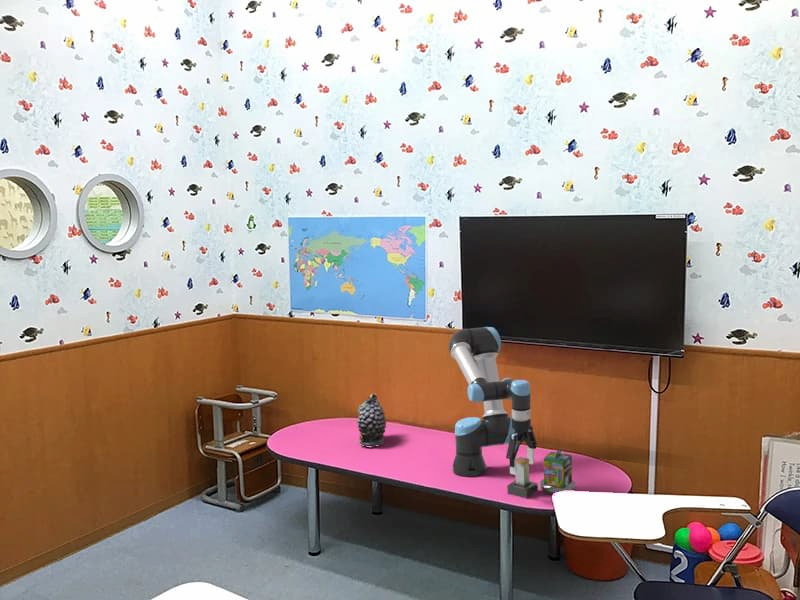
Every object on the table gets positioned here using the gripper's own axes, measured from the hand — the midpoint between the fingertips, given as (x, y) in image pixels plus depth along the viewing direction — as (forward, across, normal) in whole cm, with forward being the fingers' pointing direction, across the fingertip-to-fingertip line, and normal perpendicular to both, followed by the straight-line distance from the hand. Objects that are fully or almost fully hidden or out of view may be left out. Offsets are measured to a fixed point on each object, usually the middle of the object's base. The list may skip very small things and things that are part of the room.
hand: (522, 468), depth 284 cm
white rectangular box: (+10, -1, -1) cm, 10 cm away
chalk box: (+7, +10, -11) cm, 17 cm away
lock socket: (+10, -1, -1) cm, 10 cm away
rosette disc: (+10, +10, -11) cm, 18 cm away
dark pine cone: (+12, +12, +95) cm, 97 cm away
